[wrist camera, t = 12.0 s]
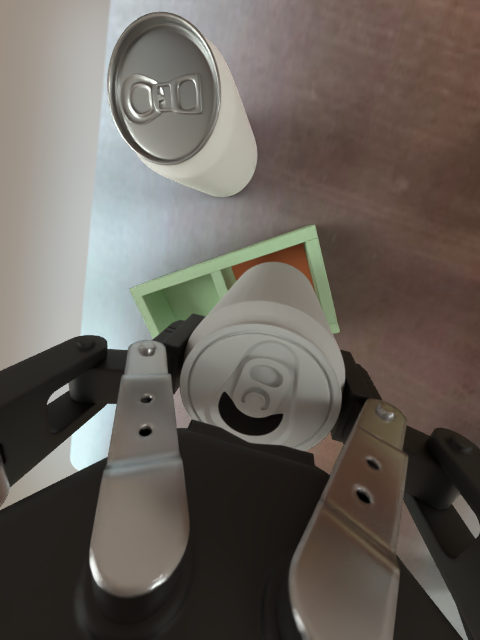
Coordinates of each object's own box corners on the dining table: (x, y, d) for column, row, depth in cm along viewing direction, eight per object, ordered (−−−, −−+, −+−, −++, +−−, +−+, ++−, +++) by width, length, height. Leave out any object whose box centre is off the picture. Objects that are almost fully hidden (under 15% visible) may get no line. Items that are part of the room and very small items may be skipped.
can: (186, 117, 22) (84, 8, 11) (259, 111, 21) (228, -17, 10) (192, 199, 24) (113, 177, 13) (257, 197, 23) (231, 171, 12)
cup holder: (152, 279, 28) (128, 289, 24) (309, 224, 23) (315, 224, 19) (184, 350, 31) (168, 370, 26) (331, 314, 26) (340, 332, 22)
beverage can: (224, 321, 21) (154, 432, 10) (247, 247, 18) (189, 284, 7) (295, 348, 21) (305, 491, 10) (329, 276, 18) (396, 359, 7)
